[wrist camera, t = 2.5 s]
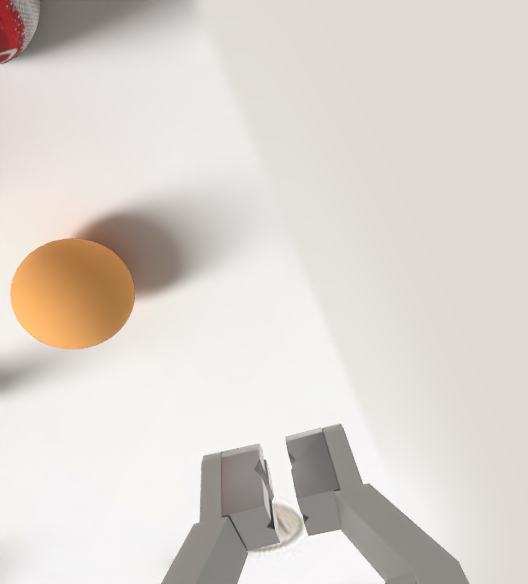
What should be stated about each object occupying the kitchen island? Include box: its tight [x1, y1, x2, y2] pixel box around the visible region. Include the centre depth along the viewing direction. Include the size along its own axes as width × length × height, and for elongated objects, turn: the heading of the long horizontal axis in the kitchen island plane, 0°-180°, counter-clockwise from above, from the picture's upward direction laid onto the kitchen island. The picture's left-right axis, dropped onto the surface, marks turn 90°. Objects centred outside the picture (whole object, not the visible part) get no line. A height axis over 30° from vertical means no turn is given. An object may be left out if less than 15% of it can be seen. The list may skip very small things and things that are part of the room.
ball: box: [10, 238, 135, 349], centre depth 20 cm, size 6×6×6 cm
